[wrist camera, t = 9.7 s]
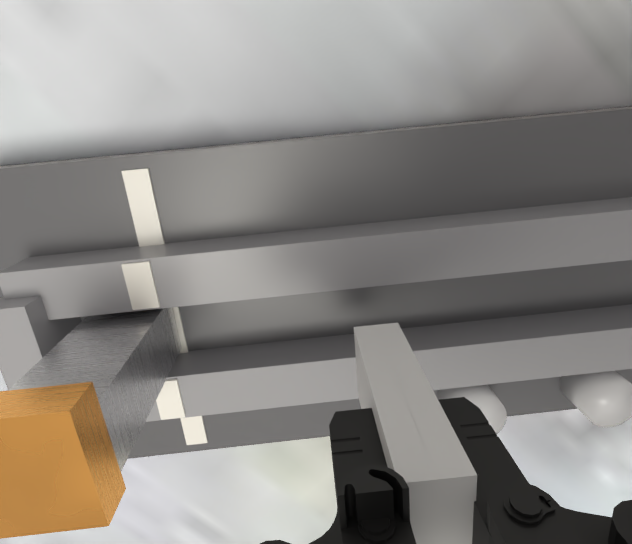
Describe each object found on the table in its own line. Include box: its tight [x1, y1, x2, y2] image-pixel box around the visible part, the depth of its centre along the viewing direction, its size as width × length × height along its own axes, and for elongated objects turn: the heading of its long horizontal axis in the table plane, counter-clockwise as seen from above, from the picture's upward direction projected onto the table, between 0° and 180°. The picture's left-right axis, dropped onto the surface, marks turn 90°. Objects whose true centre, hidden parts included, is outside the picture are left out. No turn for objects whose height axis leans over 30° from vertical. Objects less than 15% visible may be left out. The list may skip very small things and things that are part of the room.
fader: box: [0, 307, 182, 538], centre depth 14 cm, size 3×4×8 cm
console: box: [0, 106, 632, 459], centre depth 18 cm, size 34×14×6 cm, turn 95°
